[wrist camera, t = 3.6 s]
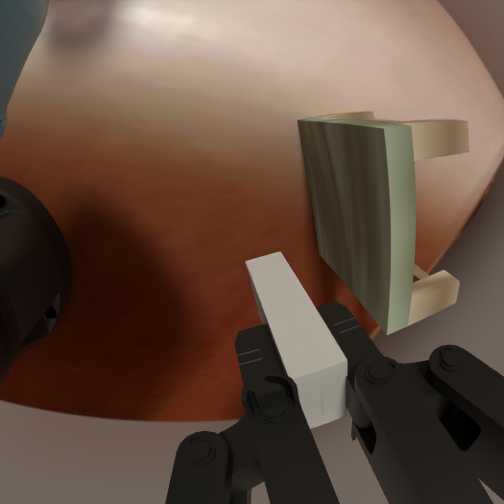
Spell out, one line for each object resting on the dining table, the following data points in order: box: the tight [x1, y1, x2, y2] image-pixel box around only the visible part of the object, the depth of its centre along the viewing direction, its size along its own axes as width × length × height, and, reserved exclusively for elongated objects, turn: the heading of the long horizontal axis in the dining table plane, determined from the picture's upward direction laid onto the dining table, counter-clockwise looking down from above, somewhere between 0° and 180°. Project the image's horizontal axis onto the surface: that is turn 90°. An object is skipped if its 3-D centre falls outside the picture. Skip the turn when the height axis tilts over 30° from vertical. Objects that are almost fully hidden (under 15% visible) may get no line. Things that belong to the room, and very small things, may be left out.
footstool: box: [298, 111, 469, 335], centre depth 18 cm, size 6×11×11 cm, turn 12°
